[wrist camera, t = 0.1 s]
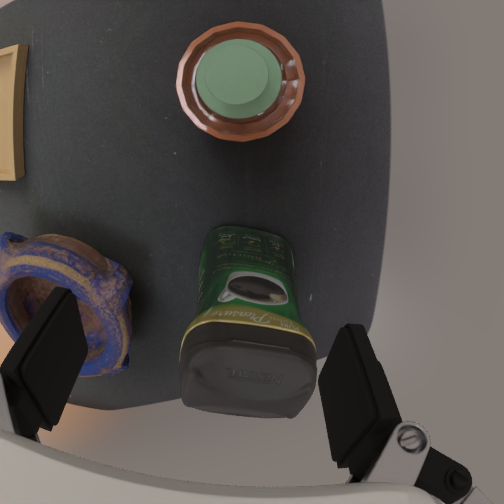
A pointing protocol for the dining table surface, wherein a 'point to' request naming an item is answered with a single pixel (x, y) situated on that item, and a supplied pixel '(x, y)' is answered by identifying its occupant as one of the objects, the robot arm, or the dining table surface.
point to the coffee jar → (247, 330)
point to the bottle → (238, 78)
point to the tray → (12, 111)
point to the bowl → (82, 285)
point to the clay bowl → (249, 126)
